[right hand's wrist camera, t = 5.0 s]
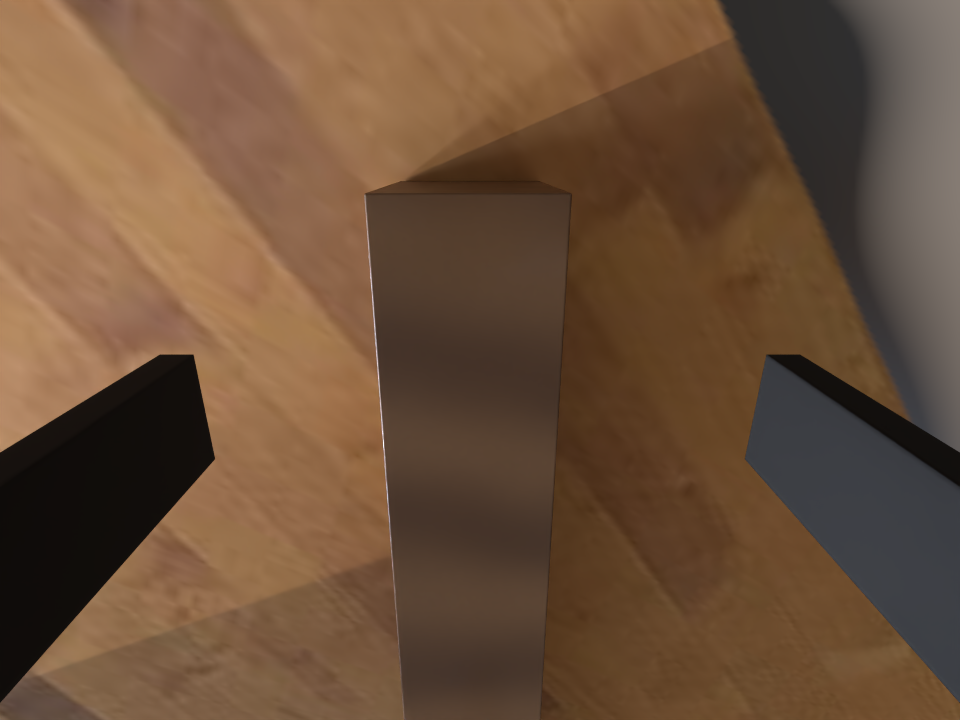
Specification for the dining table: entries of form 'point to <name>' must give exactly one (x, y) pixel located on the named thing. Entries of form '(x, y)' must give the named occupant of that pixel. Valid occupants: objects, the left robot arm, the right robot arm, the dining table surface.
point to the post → (469, 432)
